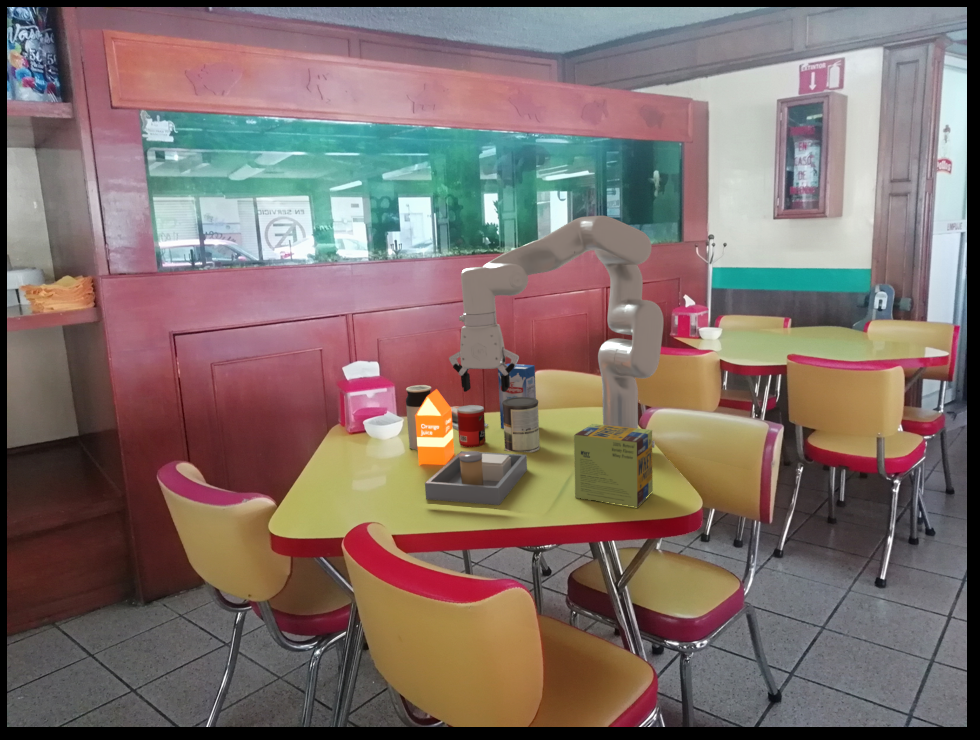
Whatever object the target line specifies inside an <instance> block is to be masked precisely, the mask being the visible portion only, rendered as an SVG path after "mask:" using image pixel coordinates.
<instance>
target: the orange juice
mask: <svg viewBox="0 0 980 740" xmlns="http://www.w3.org/2000/svg"><path fill="white" fill-rule="evenodd" d="M450 407H451V406H450V405H449V404H448V402H447V400H445V398H444V396H442V394H441V393H440V391H439V390H438V389H437V388H436V389H435V390H433V391H432V392H430V394H429V395H428V396H427V397H426V399H425V401H424V402H423V404H422V406H421V407H420V409H419V411H418V412H417V414H416V415H415V417H416V430H417V446H418V450H417V454H418V467H419V466H421V465H443V466H445V465H446V464H447V463H448V462H449V461H451V460H452V459H453V456H454V455H455V446H454V428H452V412H451V408H450Z"/></svg>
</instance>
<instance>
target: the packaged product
mask: <svg viewBox="0 0 980 740" xmlns="http://www.w3.org/2000/svg"><path fill="white" fill-rule="evenodd" d="M459 407H460V406H456V405H454V406H450V408H451V412H452V427H453V430H456V431H458V416H457V409H458V408H459ZM487 426H488V427H489V424H488V423H486V422H485V428H487Z"/></svg>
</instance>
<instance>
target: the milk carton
mask: <svg viewBox="0 0 980 740" xmlns="http://www.w3.org/2000/svg"><path fill="white" fill-rule="evenodd" d="M505 364H506V365H507V366H509V365H510V363H505ZM535 366H536V365H535V364H533V365H531V364H519V363H516V366H515V367H514V368H513V370H512V371H511V372H510V373H509V379H510V387H509V388H508V390H507V391H505V392H503V391H502V386H501V376H502V373H501V371H500V370H499V369H498V368H497V376H498V377H497V378H498V379H497V380H498V397H499V417H500V429H502V428H504V420H503V405H502V402H503V401H504V400H506V399H510V398H516V397H530V398H535V399H537V394H536V391H537V389H536V367H535Z"/></svg>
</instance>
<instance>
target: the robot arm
mask: <svg viewBox="0 0 980 740" xmlns="http://www.w3.org/2000/svg"><path fill="white" fill-rule="evenodd" d="M589 251H594V253H595V256H596V258H597V259H598V260H599V261H600V262H601V263H602V265H603V266H604V267H605V269H606V271H607V273H608V275H609V279H610V285H609V289H610V290H609V300H608V309H607V326H608V328H609V329H610V330H611V331H612V332H614V333H616V334H617V333H618V334H622V335H627V336H628V335H630V336H632V337H631V338H632V339H625V338H620V337H619V338H617V337H616V338H610V339H607V340H606V341H604V342H603V343H602V344H601V346H600V347H599V349H598V353H597V361H598V368H599V371H600V376H601V386H602V387H601V388H602V389H601V391H602V392H601V393H602V425H609V426H620V427H629V428H637V429H639V409H638V408H639V406H638V405H639V404H638V403H639V402H638V401H639V399H638V397H639V391H638V390H639V389H638V384H637V383H638V382H637V380H636V379H648V378H650V377H651V376H653V375H654V374H655V373H656V371H657V369H658V366H659V363H660V360H661V359H660V358H661V350H662V349H661V348H662V342H663V333H664V313H663V312H662V309H661V307H660V306H659V305H658V304H657V303H656V302H654V301H652V300H649V299H648V300H647V299H643V285H644V284H643V283H644V280H643V275H642V272H641V269H640V268H639V266H638V265H641V264H643V263H645V262H646V261H647V260H648V259H649V258H650V255H651V254H652V242H651V240H650V237H649V235H647V234H646V233H645V231H644V232H643V231H642V230H640V229H638V228H635V227H633V226H631V225H629V224H626V223H625V222H622V221H620V220H618V219H615V218H613V217H611V216H606V215H591V216H590V215H589V216H581V217H578V218H575V219H573V220H572V221H569V222H568V223H566V224H564V225H562V226H560V227H559V228H557V229H555V230H554V231H552V232H550V233H548V234H546V235H544V236H543V237H541V238H538V239H537V240H533V241H530V242H528V243H526V244H524V245H521V246H519V247H517V248H514V249H511V250H509V251H507V252H505V253H502V254H501V255H499V256H497V257H496V258H494V259H492V260H490V261H488V262H487V263H485V264H484V265H483V266H474V267H467V268H464V269H463V270H462V272H461V273H460V282H461V292H462V304H463V315H459V316H458V320H459V322H462V323H463V325H464V326H462V327H461V328H460V329H461V331H460V343H459V344H460V346H459V347H460V348H459V351H457V352H456V353H454V354H453V355H450V356H449V357H448V360H449V362H450V363H451V365H452V366H453V367H452V368H453V369H454V370H455V371H456V372H457V373H458V375H459V376H460V383H461V387H462V389H463V393H464V392H466V393H467V392H468V391H469V390H471V377H470V375H471V374H470V373H469V372H468V371H469V370H484V369H485V370H489V369H490V370H492V369H494V370H495V369H497V370H498V369H499V370H500V371H501V373H502V376H501V386H502V391H503V392H505V391H507V390H508V388H509V387H510V379H509V373H510V372H511V371H512V370H513V368H514V367H515V366H516V364H518V361H519V359H520V356H519V355H518V354H516V353H514V352H512V351H510V350H508V349H507V348H505V343H504V337H503V333H502V328H501V325H500V323H499V324H498V322H497V309H496V308H497V307H496V297H497V296H508V297H510V296H516V295H519V294H520V293H522V292H524V290H525V289H527V286H528V283H529V276H531V275H536V274H543V273H548V272H551V271H554V270H557V269H560V268H561V267H563V266H564V265H567V264H568V263H570V262H571V261H573V260H575V259H577V258H578V257H580V256H582V255H583V254H585V253H586V252H589ZM459 358H460V363H459V362H458V359H459ZM506 358H508V359H510V363H509V364H510V365H509V366H507V365H506V364H507V363H506ZM655 444H656V443H655V440H652V449H653V448H655Z"/></svg>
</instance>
